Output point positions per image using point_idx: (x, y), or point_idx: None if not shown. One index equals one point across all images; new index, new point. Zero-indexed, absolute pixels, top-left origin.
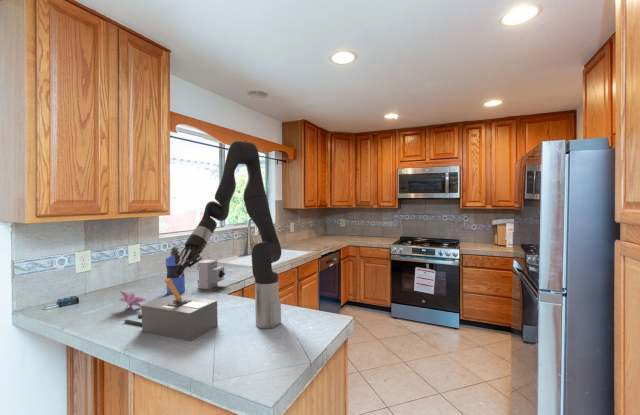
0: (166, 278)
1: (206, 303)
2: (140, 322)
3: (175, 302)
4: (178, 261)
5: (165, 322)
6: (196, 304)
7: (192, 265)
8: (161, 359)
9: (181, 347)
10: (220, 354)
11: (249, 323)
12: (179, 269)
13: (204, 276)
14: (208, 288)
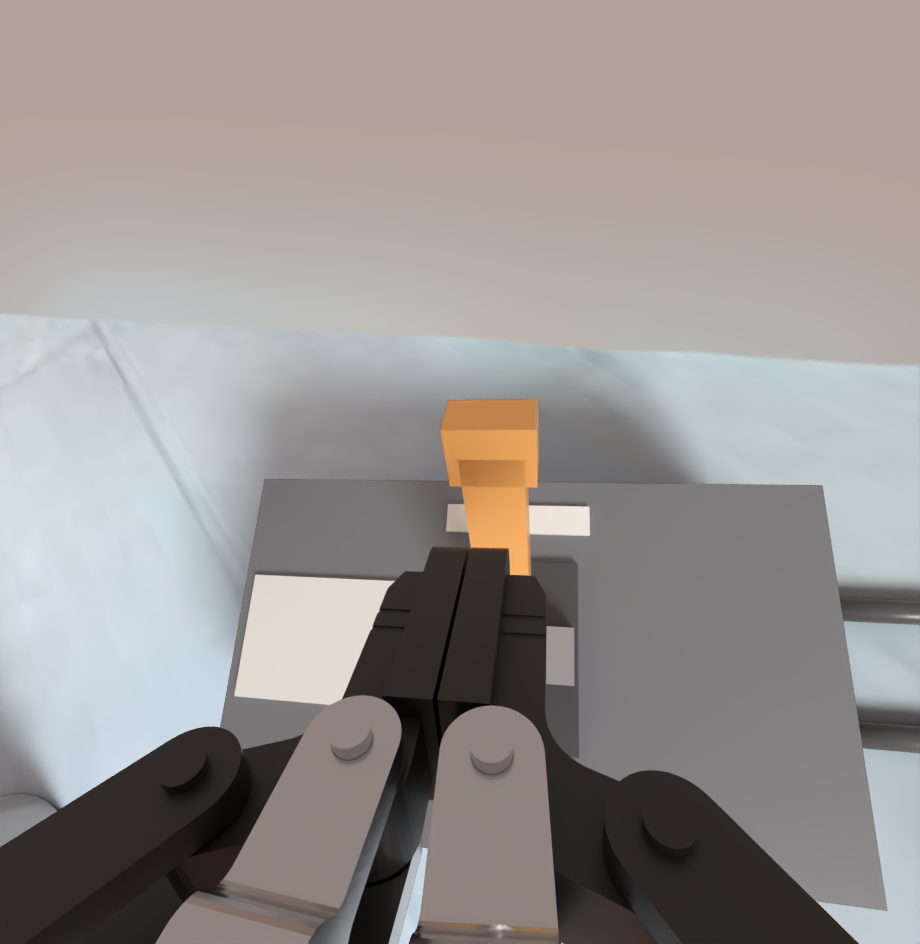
0: (525, 422)
1: (260, 711)
2: (873, 605)
3: (546, 627)
4: (639, 916)
5: None
6: (322, 647)
7: (156, 901)
8: (356, 354)
9: (345, 458)
10: (140, 467)
11: None
12: (413, 629)
13: None
14: None
